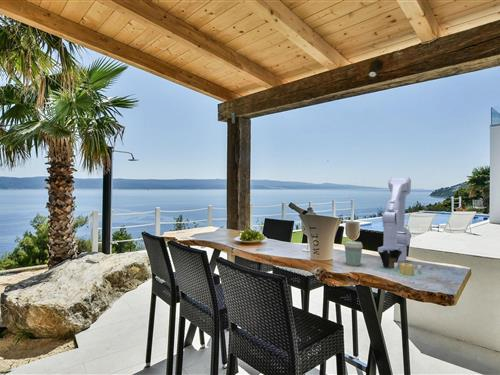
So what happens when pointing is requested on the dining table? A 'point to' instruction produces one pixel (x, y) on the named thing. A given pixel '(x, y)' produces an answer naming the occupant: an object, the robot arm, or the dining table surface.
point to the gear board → (396, 271)
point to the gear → (391, 262)
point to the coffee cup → (353, 252)
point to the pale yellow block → (407, 269)
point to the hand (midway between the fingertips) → (389, 266)
